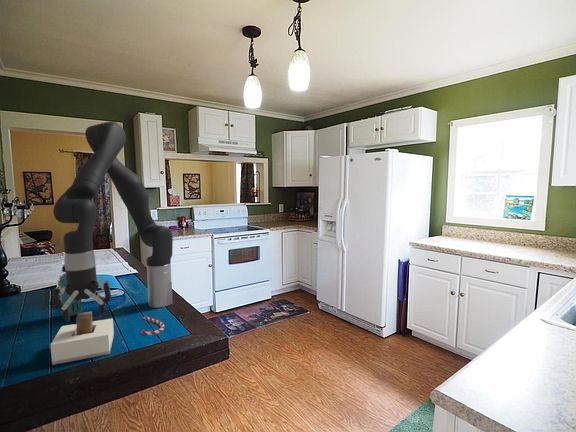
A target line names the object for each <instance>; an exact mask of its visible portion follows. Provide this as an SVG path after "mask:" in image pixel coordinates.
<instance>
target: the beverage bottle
mask: <svg viewBox="0 0 576 432" xmlns="http://www.w3.org/2000/svg"><path fill="white" fill-rule="evenodd" d="M61 272H63V274H62V275H60V277H59V278H58V279H59V287H60V288H63V287H66V286H67V283H66V272H65V266H64V265H62V269H61ZM69 297H70V295H68V294H67V293H66V292H65V291H64V292H63V294H62V295H61V303H63V304H65V302H66V301H67V300H68V298H69ZM68 307H69V308H70V317H71V316H75V315H76V316H77V315H78V313H82V311H83V302H82V300H78V301H77V300H74V299H73V301H72V302H71V303H70V305H69V306H68ZM61 313H62V315H63V312H62V311H61Z"/></svg>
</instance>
